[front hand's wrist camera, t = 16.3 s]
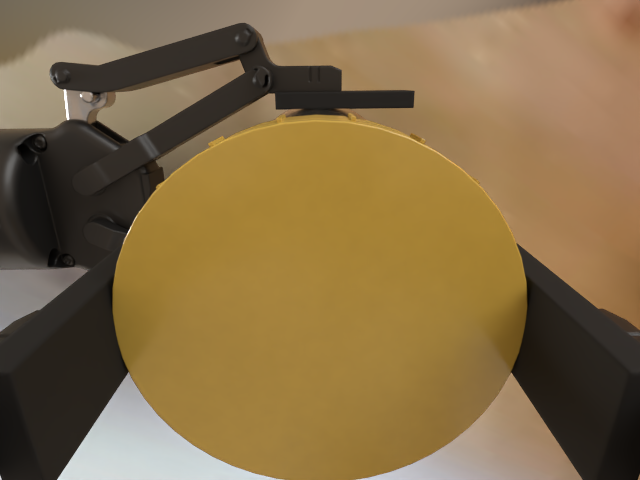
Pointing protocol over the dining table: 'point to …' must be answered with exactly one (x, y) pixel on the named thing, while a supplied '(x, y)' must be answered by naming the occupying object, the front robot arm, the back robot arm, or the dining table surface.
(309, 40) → the dining table surface
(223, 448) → the lid
